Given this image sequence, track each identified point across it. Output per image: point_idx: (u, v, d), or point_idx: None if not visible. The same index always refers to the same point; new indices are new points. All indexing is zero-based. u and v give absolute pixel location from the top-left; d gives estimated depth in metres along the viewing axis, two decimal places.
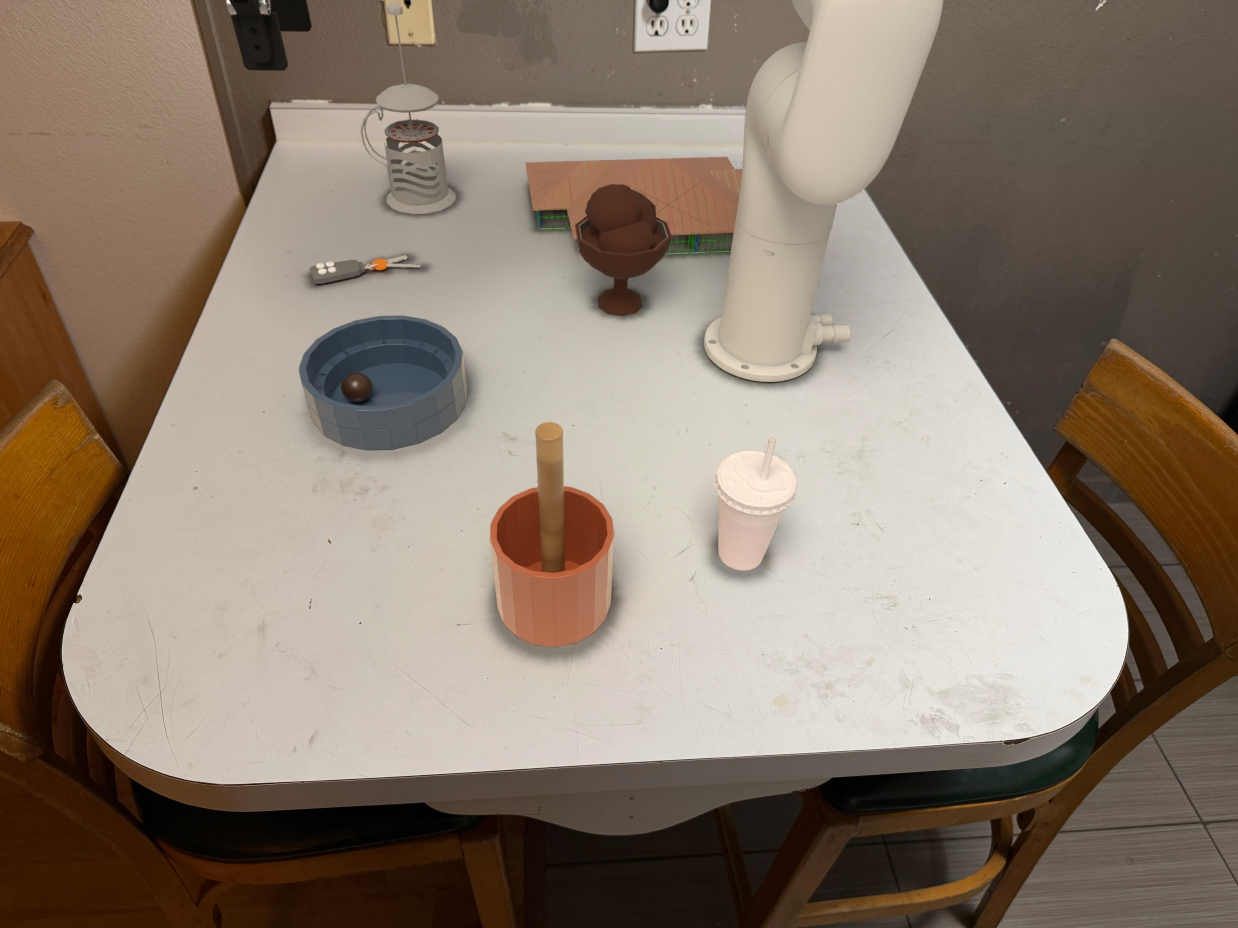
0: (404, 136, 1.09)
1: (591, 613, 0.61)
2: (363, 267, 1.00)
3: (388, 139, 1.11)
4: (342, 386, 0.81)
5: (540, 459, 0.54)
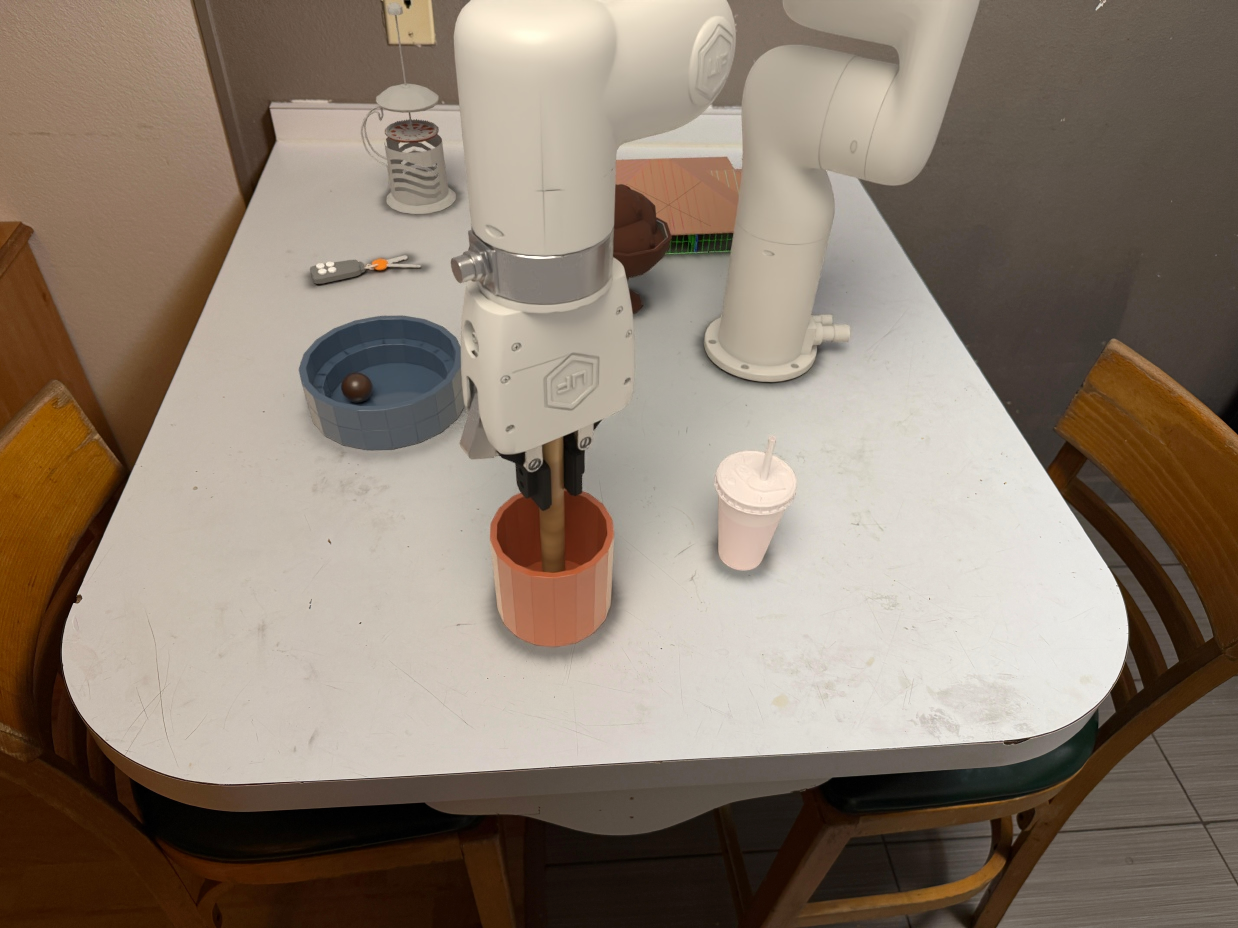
0: (404, 136, 1.09)
1: (591, 613, 0.61)
2: (363, 267, 1.00)
3: (388, 139, 1.11)
4: (342, 386, 0.81)
5: None
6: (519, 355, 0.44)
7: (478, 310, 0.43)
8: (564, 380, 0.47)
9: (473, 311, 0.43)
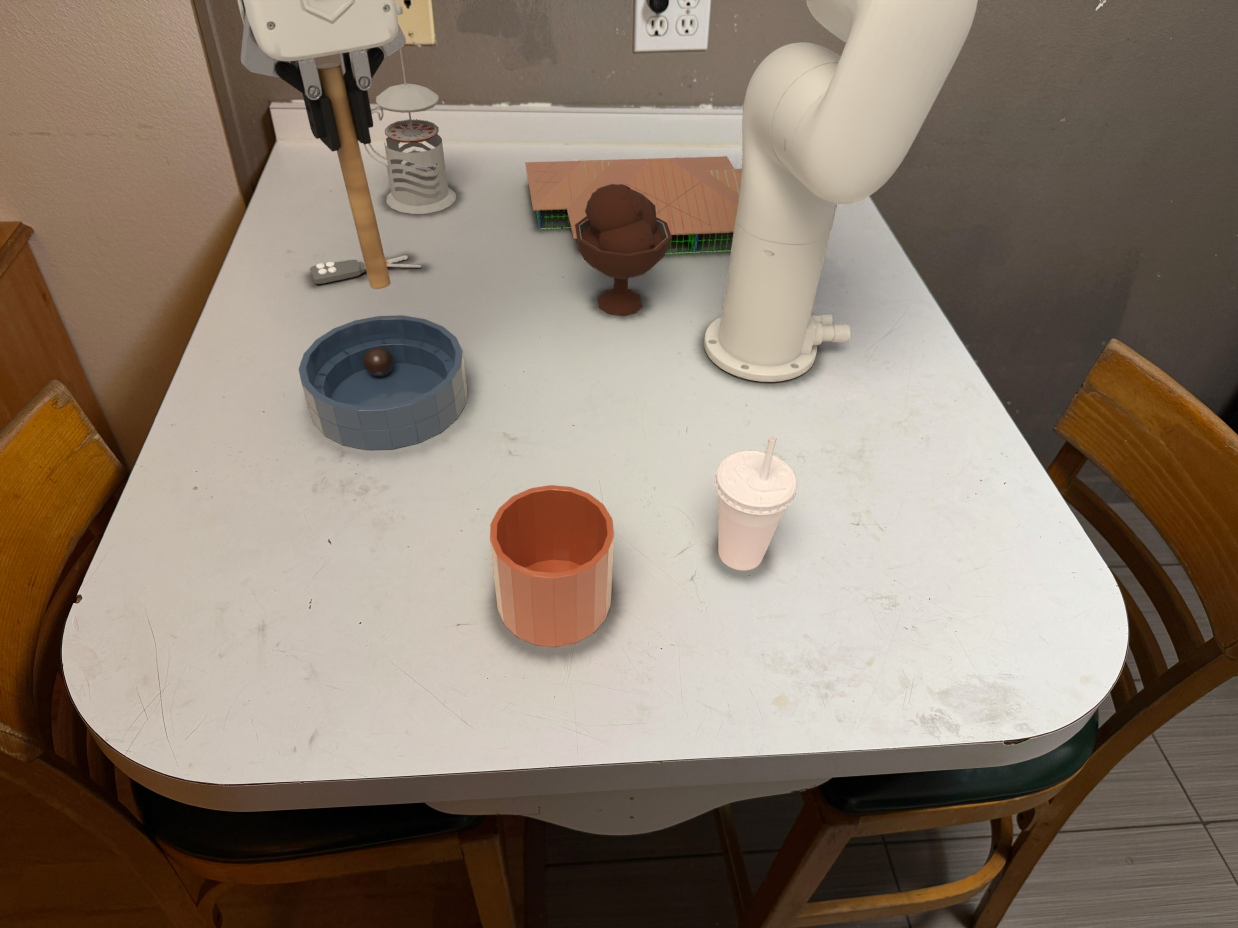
0: (404, 136, 1.09)
1: (591, 613, 0.61)
2: (363, 267, 1.00)
3: (388, 139, 1.11)
4: None
5: None
6: None
7: None
8: None
9: None
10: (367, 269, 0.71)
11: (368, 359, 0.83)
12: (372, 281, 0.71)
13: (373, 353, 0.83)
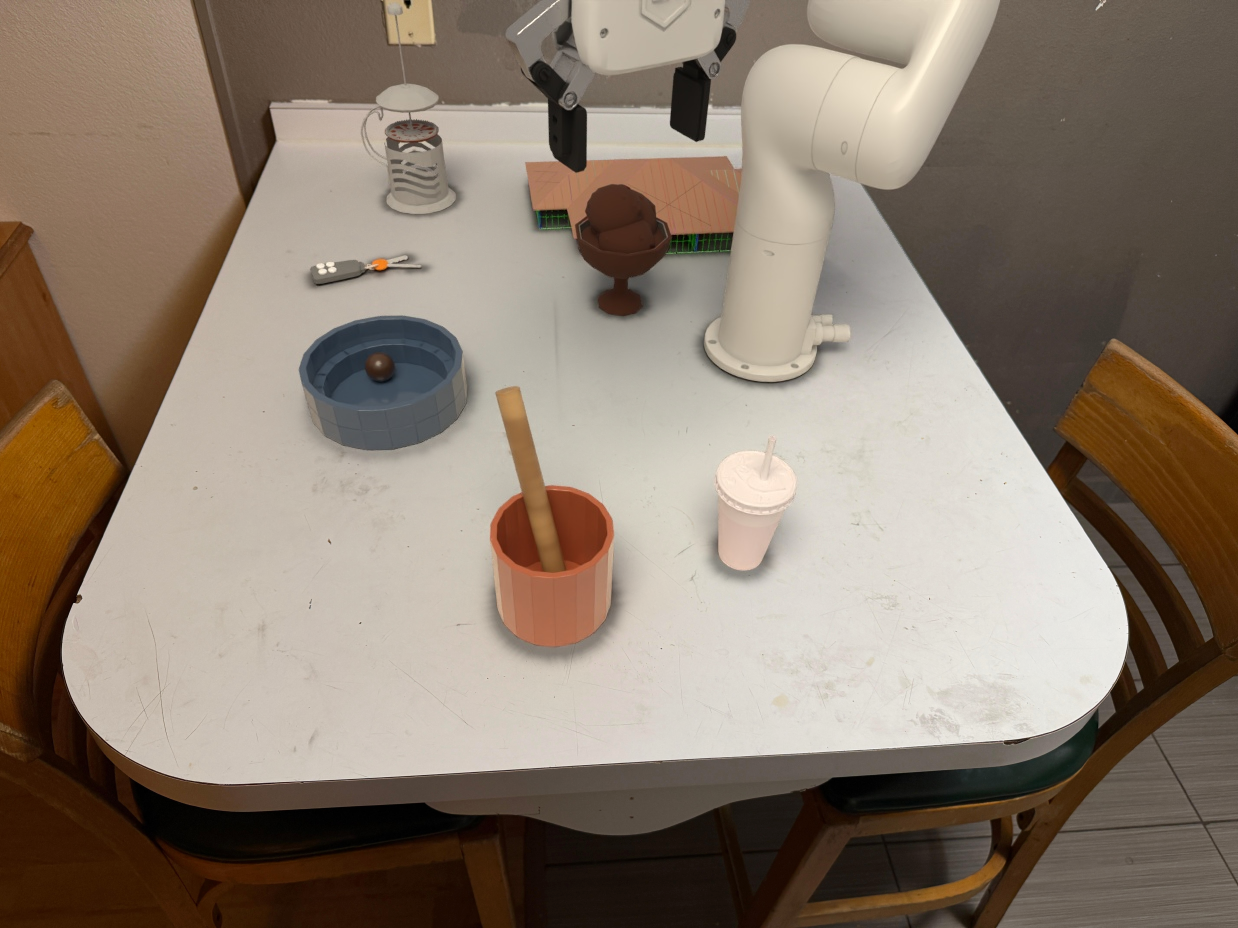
0: (404, 136, 1.09)
1: (591, 613, 0.61)
2: (363, 267, 1.00)
3: (388, 139, 1.11)
4: None
5: (506, 419, 0.59)
6: None
7: None
8: None
9: None
10: None
11: (372, 371, 0.83)
12: None
13: (377, 366, 0.82)
